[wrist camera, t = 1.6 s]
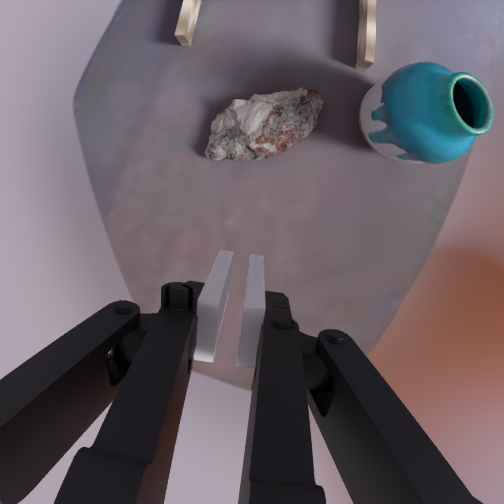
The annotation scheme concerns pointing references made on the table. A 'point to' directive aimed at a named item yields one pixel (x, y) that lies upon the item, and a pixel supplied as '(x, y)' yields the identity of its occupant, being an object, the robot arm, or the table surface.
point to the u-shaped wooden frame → (364, 31)
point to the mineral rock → (263, 125)
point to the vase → (425, 114)
